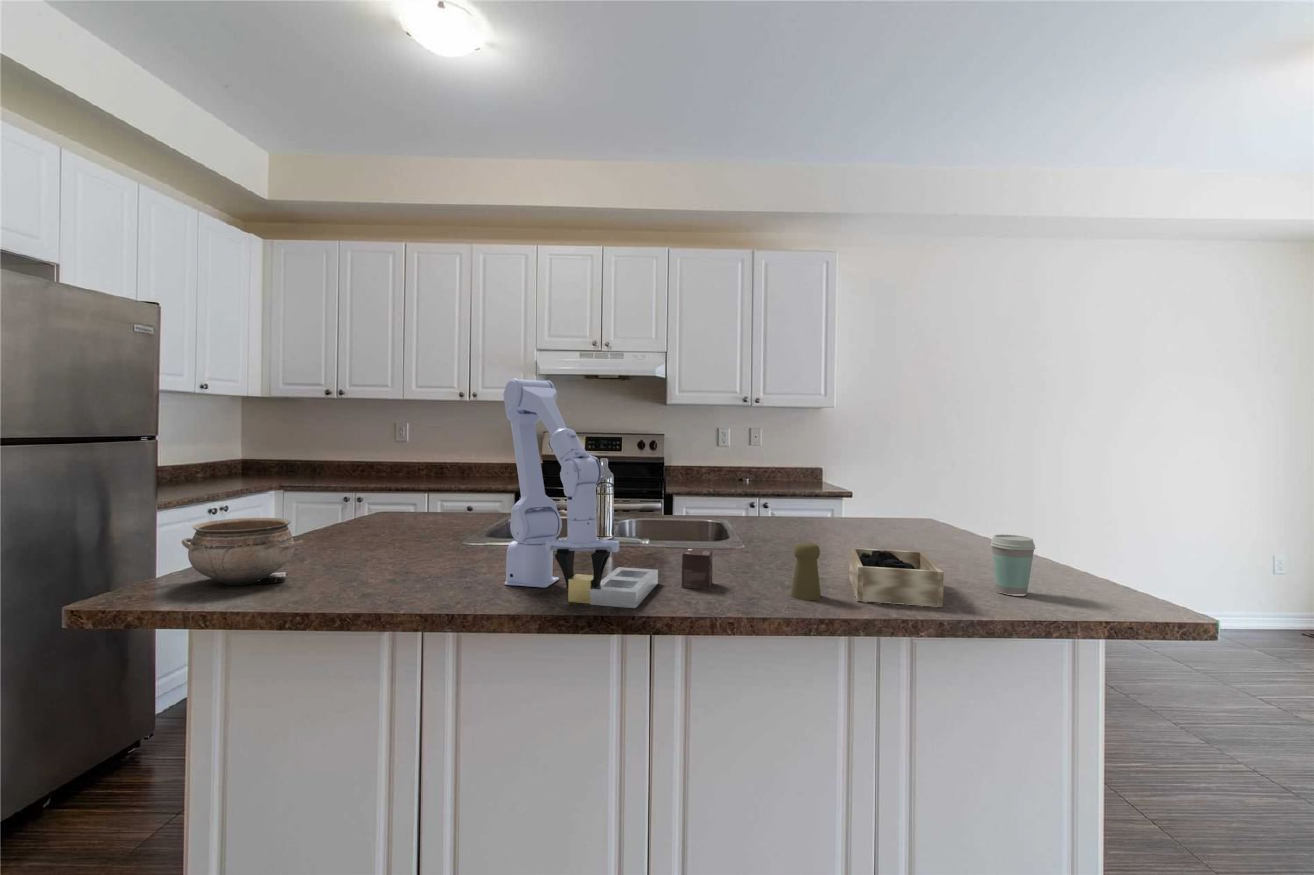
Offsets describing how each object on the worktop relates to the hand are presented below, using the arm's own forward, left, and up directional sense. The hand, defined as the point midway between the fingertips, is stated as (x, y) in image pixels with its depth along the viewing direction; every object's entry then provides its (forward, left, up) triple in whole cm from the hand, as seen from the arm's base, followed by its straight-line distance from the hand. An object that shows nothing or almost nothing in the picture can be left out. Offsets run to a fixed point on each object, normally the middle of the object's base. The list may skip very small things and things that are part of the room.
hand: (583, 588), depth 130 cm
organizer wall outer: (+68, +24, -2) cm, 72 cm away
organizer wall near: (+61, +14, -2) cm, 63 cm away
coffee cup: (+86, +30, -3) cm, 91 cm away
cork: (+43, +15, -3) cm, 46 cm away
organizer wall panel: (+53, +24, -2) cm, 59 cm away
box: (+20, +18, -3) cm, 27 cm away
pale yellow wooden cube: (0, 0, -3) cm, 3 cm away
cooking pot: (-73, -6, -3) cm, 73 cm away
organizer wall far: (+61, +34, -2) cm, 70 cm away
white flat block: (+7, +7, -2) cm, 10 cm away
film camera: (+61, +23, -3) cm, 65 cm away
